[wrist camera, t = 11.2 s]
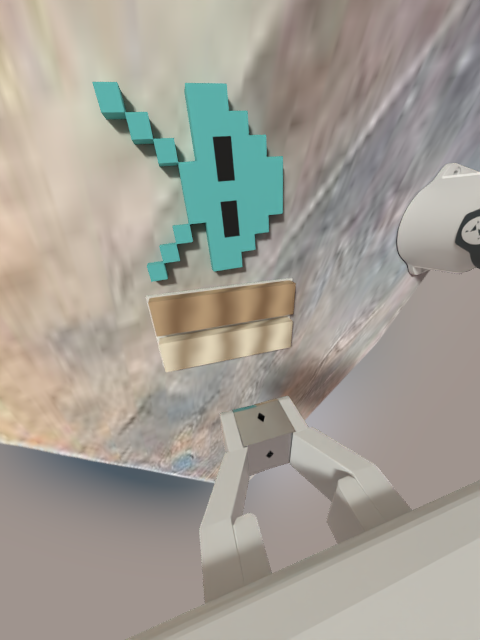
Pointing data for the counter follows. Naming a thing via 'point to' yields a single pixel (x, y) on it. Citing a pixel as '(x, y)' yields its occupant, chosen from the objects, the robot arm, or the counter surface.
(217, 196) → the alien figure
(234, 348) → the birch plank
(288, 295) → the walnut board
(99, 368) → the counter surface
